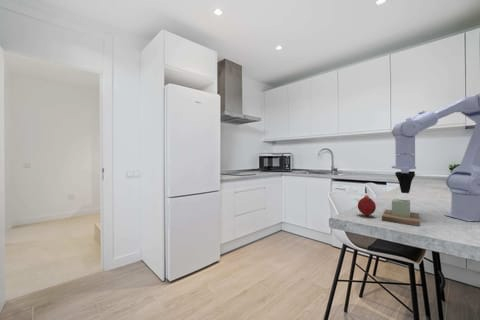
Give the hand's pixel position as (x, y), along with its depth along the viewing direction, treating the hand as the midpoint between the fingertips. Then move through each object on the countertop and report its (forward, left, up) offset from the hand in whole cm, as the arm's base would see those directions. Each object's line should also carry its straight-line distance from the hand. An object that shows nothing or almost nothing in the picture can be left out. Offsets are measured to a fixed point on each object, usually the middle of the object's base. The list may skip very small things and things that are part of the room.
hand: (405, 191), depth 79 cm
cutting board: (+4, +2, -9) cm, 10 cm away
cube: (+4, +2, -8) cm, 9 cm away
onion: (+13, -3, -10) cm, 17 cm away
